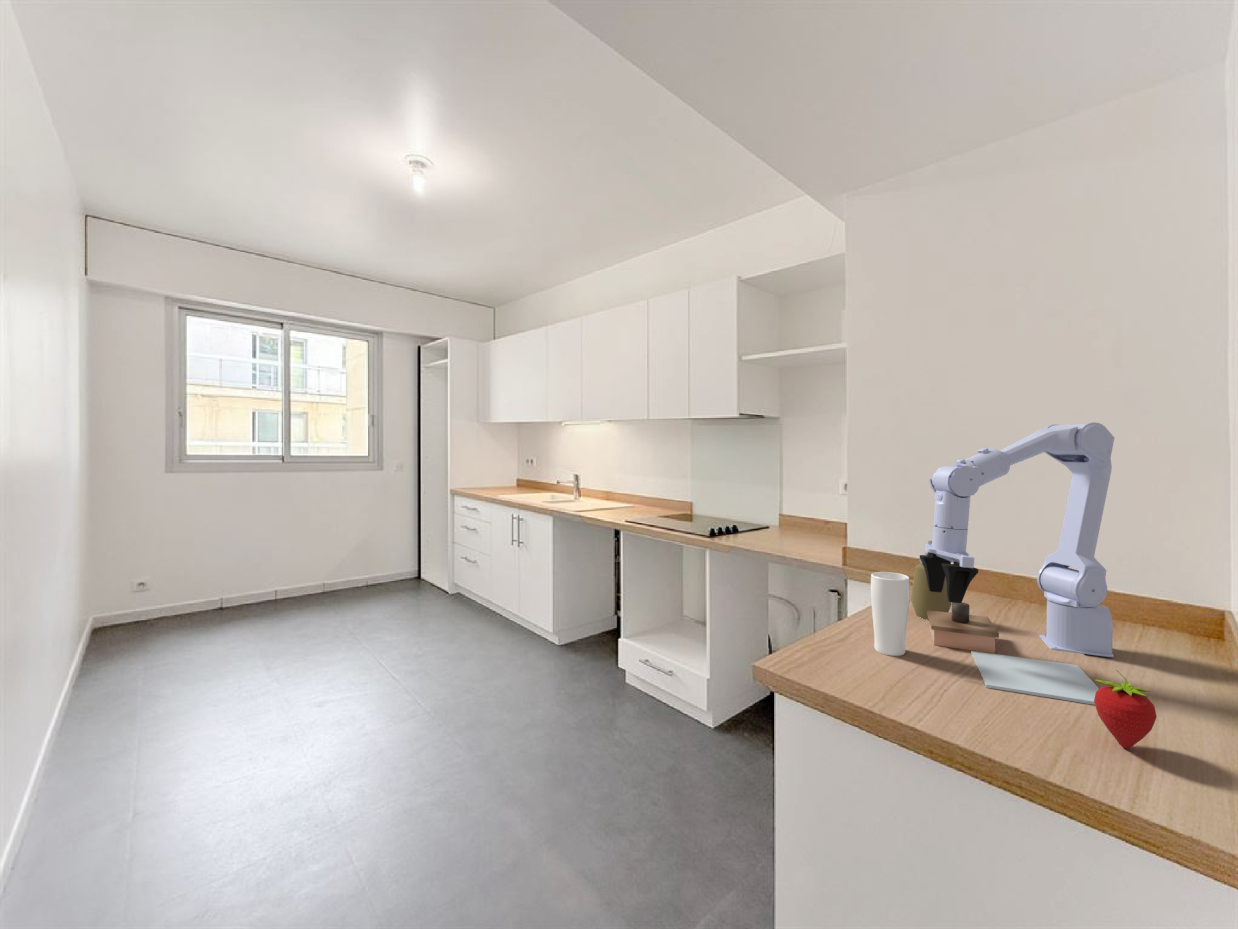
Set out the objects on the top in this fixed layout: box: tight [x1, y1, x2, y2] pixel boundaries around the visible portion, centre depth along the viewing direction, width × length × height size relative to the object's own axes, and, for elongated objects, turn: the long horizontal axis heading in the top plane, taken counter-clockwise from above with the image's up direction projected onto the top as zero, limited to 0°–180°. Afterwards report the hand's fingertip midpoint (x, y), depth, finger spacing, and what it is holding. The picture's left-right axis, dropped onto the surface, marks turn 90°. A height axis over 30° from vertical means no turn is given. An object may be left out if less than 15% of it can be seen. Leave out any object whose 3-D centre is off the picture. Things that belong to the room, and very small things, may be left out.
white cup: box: [870, 571, 911, 657], centre depth 101 cm, size 7×7×15 cm
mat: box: [970, 650, 1100, 706], centre depth 90 cm, size 16×16×1 cm
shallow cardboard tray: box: [929, 625, 996, 654], centre depth 106 cm, size 10×10×4 cm
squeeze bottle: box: [910, 540, 952, 620], centre depth 121 cm, size 8×8×18 cm
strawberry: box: [1094, 669, 1157, 749], centre depth 69 cm, size 6×8×10 cm
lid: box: [927, 602, 1000, 639], centre depth 106 cm, size 11×11×4 cm
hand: (944, 596), depth 102 cm, fingers open, 7 cm apart
